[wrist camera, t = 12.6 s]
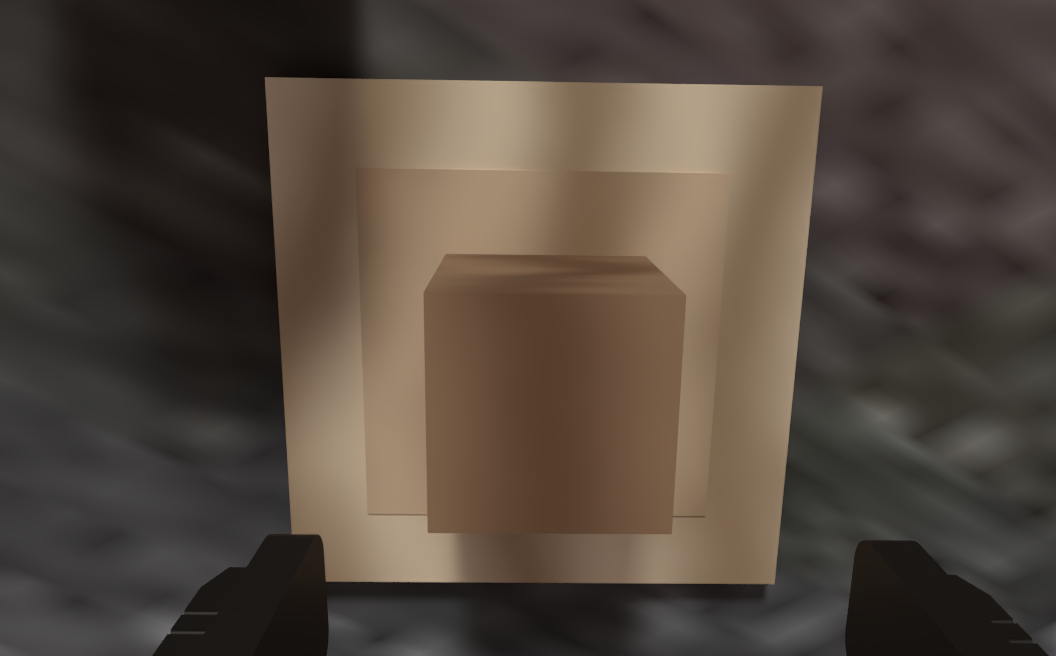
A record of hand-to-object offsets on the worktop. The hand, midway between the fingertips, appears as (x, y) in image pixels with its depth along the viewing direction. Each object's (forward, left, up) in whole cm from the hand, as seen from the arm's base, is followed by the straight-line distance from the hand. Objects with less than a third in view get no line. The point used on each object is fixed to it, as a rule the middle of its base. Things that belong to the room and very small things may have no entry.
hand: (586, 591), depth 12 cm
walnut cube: (0, 0, -13) cm, 13 cm away
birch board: (0, 0, -14) cm, 14 cm away
